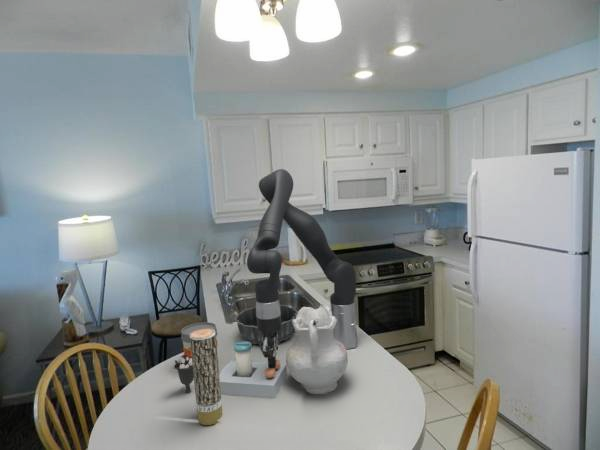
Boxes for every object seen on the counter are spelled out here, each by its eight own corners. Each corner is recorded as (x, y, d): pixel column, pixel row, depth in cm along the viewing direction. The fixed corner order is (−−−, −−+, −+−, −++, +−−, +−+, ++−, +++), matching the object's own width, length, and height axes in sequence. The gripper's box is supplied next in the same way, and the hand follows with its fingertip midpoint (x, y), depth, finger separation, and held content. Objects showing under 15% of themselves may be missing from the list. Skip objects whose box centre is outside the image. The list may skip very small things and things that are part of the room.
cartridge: (256, 379, 129) (253, 339, 127) (250, 388, 123) (247, 347, 122) (240, 378, 130) (237, 339, 128) (234, 387, 124) (230, 346, 123)
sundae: (203, 390, 126) (199, 345, 124) (191, 401, 120) (186, 354, 118) (186, 388, 128) (181, 344, 126) (173, 399, 122) (168, 352, 120)
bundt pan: (271, 356, 148) (269, 330, 147) (223, 342, 164) (221, 319, 163) (311, 332, 169) (310, 309, 168) (266, 322, 185) (264, 301, 184)
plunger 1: (277, 380, 122) (276, 367, 122) (273, 385, 119) (273, 372, 119) (267, 379, 123) (266, 367, 123) (263, 384, 120) (263, 372, 120)
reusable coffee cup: (227, 363, 144) (223, 323, 143) (205, 379, 133) (201, 337, 131) (199, 358, 150) (196, 320, 148) (176, 374, 138) (172, 333, 137)
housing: (287, 378, 131) (286, 363, 130) (275, 401, 117) (273, 385, 116) (231, 374, 135) (230, 360, 135) (213, 396, 122) (212, 381, 121)
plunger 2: (281, 371, 128) (281, 359, 127) (279, 376, 125) (278, 364, 124) (272, 371, 129) (271, 359, 128) (269, 375, 125) (268, 364, 125)
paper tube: (200, 413, 113) (192, 329, 110) (224, 410, 114) (216, 327, 111) (196, 427, 106) (187, 339, 104) (221, 425, 107) (213, 337, 104)
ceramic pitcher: (357, 404, 115) (359, 321, 112) (291, 409, 112) (292, 324, 109) (338, 370, 136) (339, 300, 134) (282, 374, 133) (282, 302, 130)
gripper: (273, 322, 114) (277, 378, 116) (285, 307, 127) (289, 358, 129) (249, 321, 116) (253, 377, 118) (263, 306, 129) (267, 357, 131)
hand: (272, 367), depth 124 cm, fingers closed
